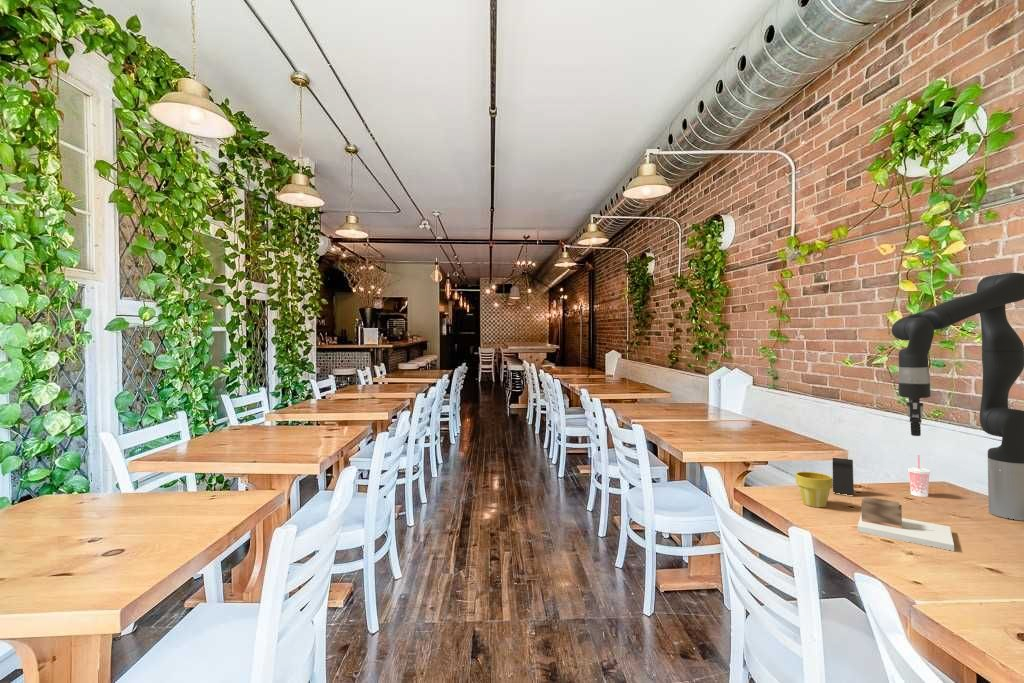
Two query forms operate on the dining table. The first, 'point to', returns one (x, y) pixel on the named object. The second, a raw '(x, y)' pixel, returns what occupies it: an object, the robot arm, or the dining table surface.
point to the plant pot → (814, 488)
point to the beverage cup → (919, 480)
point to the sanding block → (881, 512)
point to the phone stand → (843, 476)
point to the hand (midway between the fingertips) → (915, 433)
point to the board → (912, 533)
